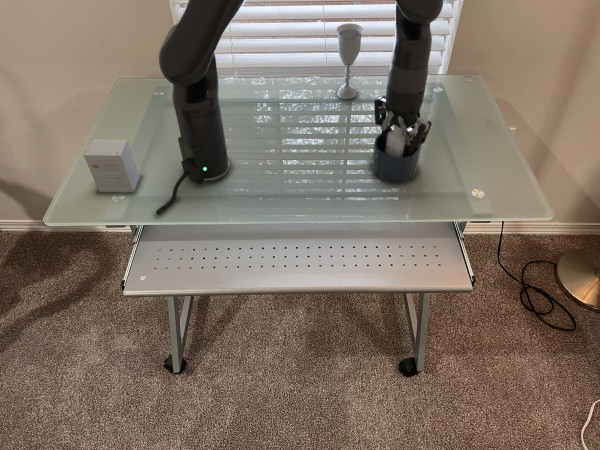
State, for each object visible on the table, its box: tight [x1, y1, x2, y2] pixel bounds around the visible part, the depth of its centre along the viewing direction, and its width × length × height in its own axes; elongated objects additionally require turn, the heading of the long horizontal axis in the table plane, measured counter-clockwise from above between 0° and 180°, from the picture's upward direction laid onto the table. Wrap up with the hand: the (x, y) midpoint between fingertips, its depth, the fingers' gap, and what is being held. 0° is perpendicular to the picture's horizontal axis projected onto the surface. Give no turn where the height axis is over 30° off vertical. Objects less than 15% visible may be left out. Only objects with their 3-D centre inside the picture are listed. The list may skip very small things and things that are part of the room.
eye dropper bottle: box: [385, 124, 406, 157], centre depth 110 cm, size 4×6×12 cm
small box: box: [83, 139, 141, 193], centre depth 109 cm, size 8×6×10 cm
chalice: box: [335, 23, 364, 100], centre depth 131 cm, size 7×7×18 cm
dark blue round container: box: [371, 133, 422, 184], centre depth 113 cm, size 10×10×7 cm
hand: (396, 149), depth 111 cm, fingers closed on eye dropper bottle, 5 cm apart
